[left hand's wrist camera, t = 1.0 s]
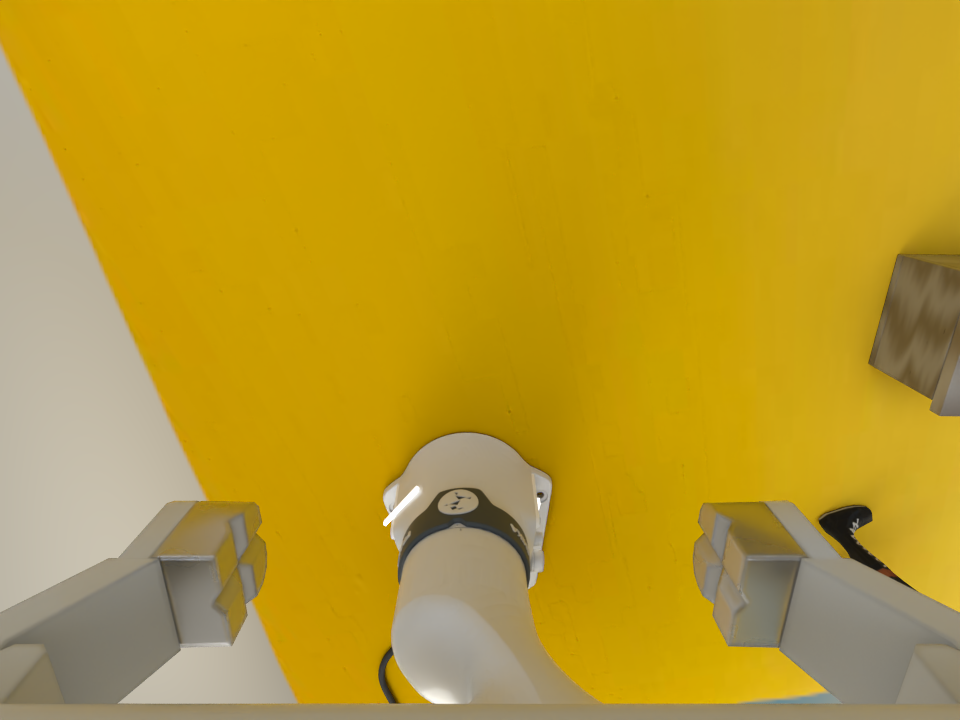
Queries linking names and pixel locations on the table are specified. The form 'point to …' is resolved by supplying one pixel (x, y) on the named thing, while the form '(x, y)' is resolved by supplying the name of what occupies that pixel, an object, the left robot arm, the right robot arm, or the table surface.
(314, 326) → the table surface
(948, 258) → the chest
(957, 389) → the lid
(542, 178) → the table surface
